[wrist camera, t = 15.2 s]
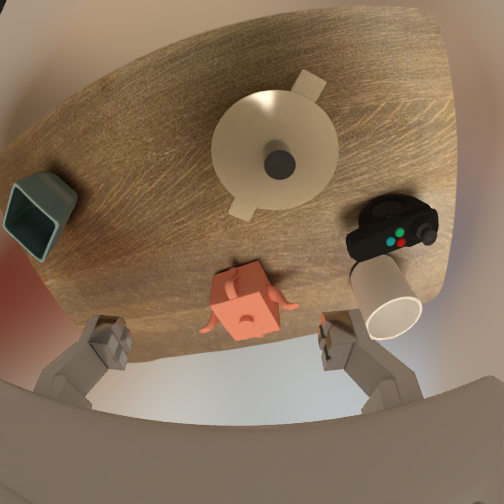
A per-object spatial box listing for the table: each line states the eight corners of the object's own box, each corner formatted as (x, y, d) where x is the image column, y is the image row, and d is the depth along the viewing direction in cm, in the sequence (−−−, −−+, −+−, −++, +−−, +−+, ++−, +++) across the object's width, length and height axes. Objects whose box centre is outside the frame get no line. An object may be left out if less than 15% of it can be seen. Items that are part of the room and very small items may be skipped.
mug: (342, 261, 41) (360, 311, 33) (394, 242, 39) (423, 287, 31) (353, 306, 47) (368, 353, 39) (399, 289, 45) (420, 333, 37)
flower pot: (34, 198, 34) (1, 227, 27) (52, 156, 31) (13, 181, 23) (70, 230, 38) (42, 264, 31) (92, 191, 34) (59, 224, 27)
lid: (194, 177, 26) (184, 198, 22) (245, 68, 20) (243, 66, 16) (298, 221, 29) (306, 248, 25) (357, 127, 23) (377, 139, 19)
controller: (413, 206, 36) (449, 244, 28) (338, 234, 39) (359, 281, 30) (410, 180, 33) (448, 215, 25) (330, 209, 36) (351, 253, 28)
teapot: (304, 296, 45) (311, 336, 39) (221, 319, 49) (217, 359, 42) (280, 239, 39) (285, 279, 32) (186, 271, 43) (175, 311, 36)
